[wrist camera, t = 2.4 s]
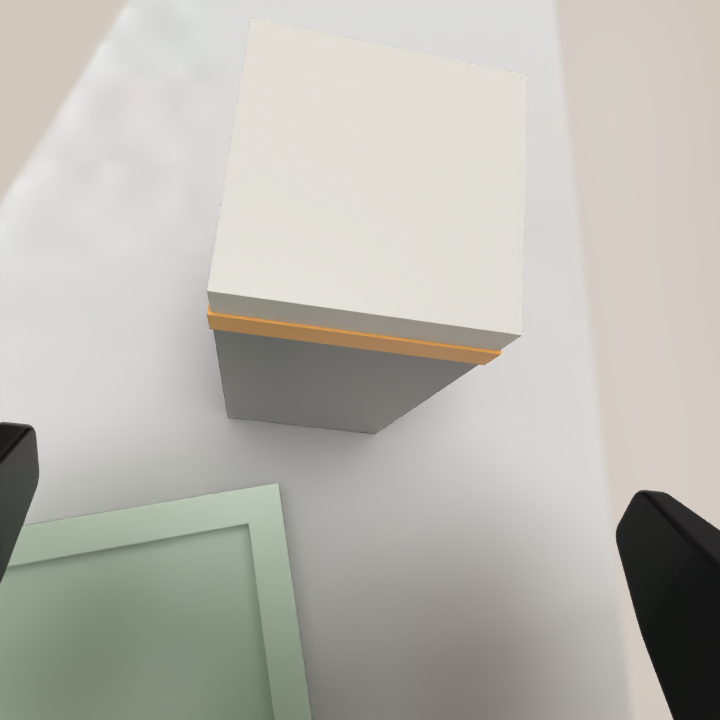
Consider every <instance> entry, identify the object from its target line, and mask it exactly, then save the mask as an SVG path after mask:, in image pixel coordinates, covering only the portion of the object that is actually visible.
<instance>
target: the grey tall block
mask: <svg viewBox="0 0 720 720" xmlns="http://www.w3.org/2000/svg"><path fill="white" fill-rule="evenodd" d="M526 91H527V74H522V73H517V72H512V71H507V70H502V69H497V68H493V67H488V66H483V65H478V64H473V63H468V62H463V61H459V60H454V59H449V58H444V57H439V56H434V55H429V54H425V53H420V52H415V51H410V50H405V49H400V48H396V47H391V46H386V45H381V44H376V43H371V42H366V41H362V40H357V39H352V38H347V37H342V36H337V35H332V34H328V33H323V32H318V31H313V30H308V29H303V28H298V27H294V26H289V25H284V24H279V23H274V22H269V21H265V20H260V19H255V18H251V20H250V26H249V32H248V38H247V45H246V51H245V57H244V63H243V70H242V76H241V82H240V88H239V95H238V101H237V107H236V113H235V120H234V126H233V132H232V138H231V145H230V151H229V157H228V163H227V170H226V176H225V182H224V189H223V195H222V201H221V207H220V214H219V220H218V226H217V232H216V239H215V245H214V251H213V257H212V264H211V270H210V276H209V282H208V289H207V293H208V299H209V306H208V312H207V317H208V322H209V328H210V329H213V330H214V336H215V342H216V348H217V354H218V360H219V367H220V373H221V379H222V385H223V391H224V397H225V403H226V410H227V416H228V418H236V419H245V420H254V421H262V422H271V423H280V424H289V425H298V426H307V427H316V428H325V429H334V430H343V431H352V432H361V433H369V434H376V433H377V432H379V431H380V430H382V429H383V428H385V427H386V426H388V425H389V424H391V423H392V422H394V421H395V420H397V419H398V418H400V417H401V416H403V415H404V414H406V413H407V412H409V411H410V410H412V409H413V408H415V407H416V406H418V405H419V404H421V403H422V402H424V401H425V400H427V399H428V398H429V397H431V396H432V395H434V394H435V393H437V392H438V391H440V390H441V389H443V388H444V387H446V386H447V385H449V384H450V383H452V382H453V381H455V380H456V379H458V378H459V377H461V376H462V375H464V374H465V373H467V372H468V371H470V370H471V369H473V368H474V367H476V366H477V365H479V364H480V365H485V364H487V363H488V362H490V361H491V360H493V359H495V358H496V357H498V356H499V355H501V349H502V348H504V347H505V346H507V345H508V344H510V343H511V342H513V341H514V340H516V339H517V338H519V337H520V336H522V318H523V261H524V205H525V148H526Z"/></svg>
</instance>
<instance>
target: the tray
mask: <svg viewBox="0 0 720 720" xmlns="http://www.w3.org/2000/svg"><path fill="white" fill-rule="evenodd" d="M0 720H312V716H311V709H310V702H309V695H308V688H307V682H306V675H305V668H304V661H303V654H302V647H301V640H300V633H299V626H298V619H297V612H296V605H295V598H294V591H293V584H292V577H291V570H290V563H289V556H288V549H287V542H286V535H285V528H284V521H283V514H282V507H281V500H280V493H279V486H278V483H274V484H268V485H262V486H257V487H251V488H245V489H239V490H233V491H227V492H221V493H215V494H209V495H203V496H197V497H191V498H185V499H179V500H173V501H167V502H161V503H155V504H149V505H143V506H137V507H131V508H125V509H120V510H114V511H108V512H102V513H96V514H90V515H84V516H78V517H72V518H66V519H60V520H54V521H48V522H42V523H36V524H30V525H24V526H22V528H21V531H20V534H19V536H18V539H17V542H16V544H15V547H14V550H13V552H12V555H11V558H10V561H9V563H8V566H7V569H6V571H5V574H4V576H3V579H2V581H1V584H0Z"/></svg>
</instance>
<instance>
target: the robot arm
mask: <svg viewBox="0 0 720 720" xmlns="http://www.w3.org/2000/svg"><path fill="white" fill-rule="evenodd" d="M38 479H39V463H38V451H37V440H36V433H35V430H34V428H33V427H32V426H30V425H28V424H19V423H10V422H1V423H0V584H1V581H2V579H3V576H4V574H5V571H6V569H7V566H8V563H9V561H10V558H11V555H12V552H13V550H14V547H15V544H16V542H17V539H18V536H19V534H20V531H21V528H22V526H23V523H24V520H25V518H26V515H27V512H28V510H29V507H30V504H31V501H32V499H33V496H34V493H35V491H36V488H37V484H38ZM616 542H617V547H618V550H619V554H620V558H621V562H622V565H623V569H624V573H625V576H626V580H627V584H628V588H629V591H630V595H631V599H632V602H633V606H634V609H635V614H636V617H637V621H638V624H639V627H640V630H641V634H642V637H643V640H644V642H645V645H646V648H647V651H648V653H649V656H650V659H651V661H652V664H653V667H654V669H655V672H656V674H657V677H658V680H659V683H660V685H661V688H662V691H663V693H664V696H665V698H666V701H667V704H668V706H669V709H670V712H671V714H672V717H673V720H720V530H719V529H717V528H716V527H714V526H713V525H711V524H710V523H708V522H707V521H706V520H704V519H703V518H701V517H700V516H699V515H697V514H696V513H694V512H693V511H691V510H690V509H689V508H687V507H686V506H684V505H683V504H682V503H680V502H679V501H677V500H675V499H674V498H673V497H672V496H670V495H669V494H667V493H664V492H658V491H649V490H641V491H638V492H637V493H636V494H635V495H634V497H633V498H632V500H631V502H630V504H629V505H628V507H627V509H626V511H625V513H624V515H623V517H622V519H621V520H620V522H619V524H618V526H617V530H616Z"/></svg>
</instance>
